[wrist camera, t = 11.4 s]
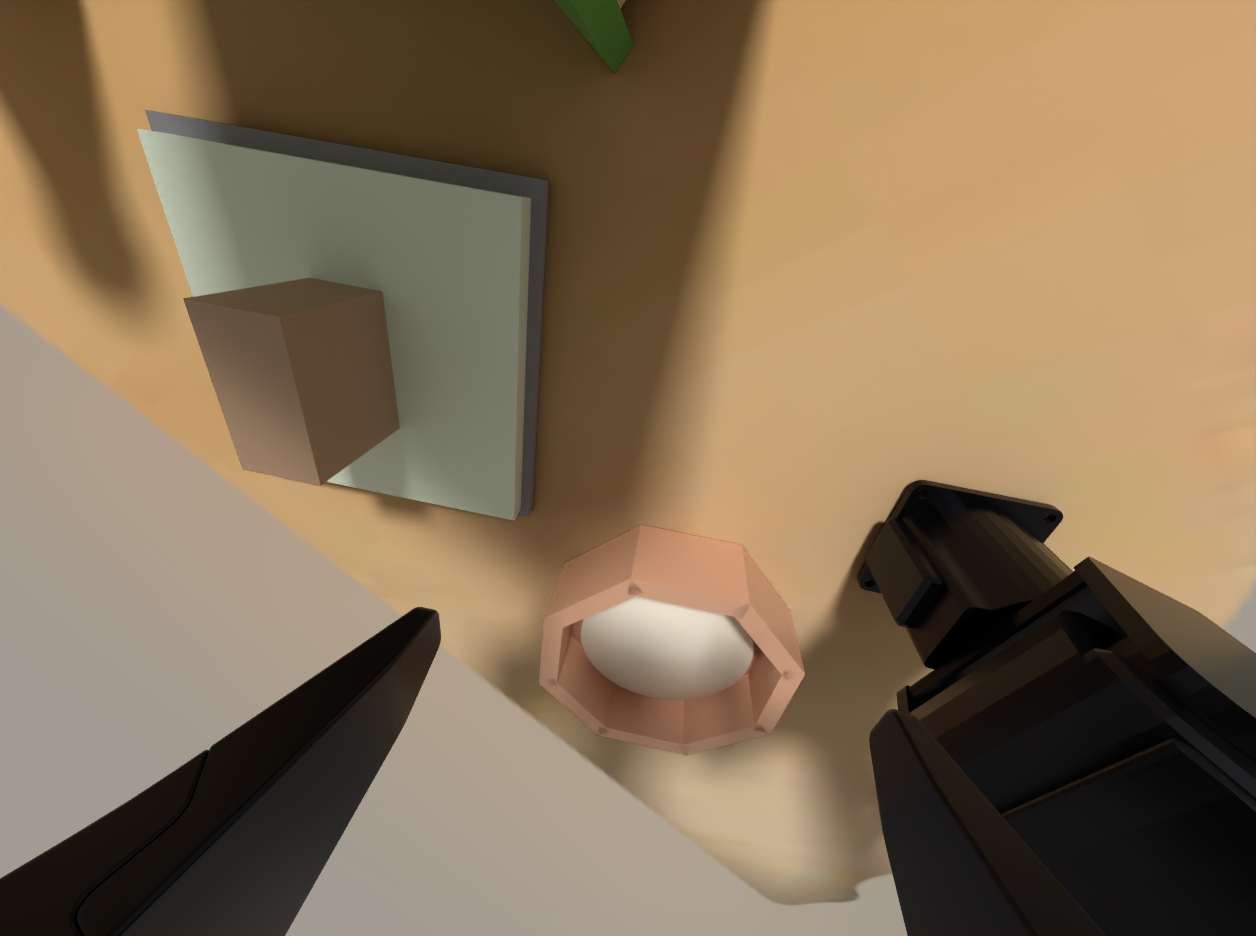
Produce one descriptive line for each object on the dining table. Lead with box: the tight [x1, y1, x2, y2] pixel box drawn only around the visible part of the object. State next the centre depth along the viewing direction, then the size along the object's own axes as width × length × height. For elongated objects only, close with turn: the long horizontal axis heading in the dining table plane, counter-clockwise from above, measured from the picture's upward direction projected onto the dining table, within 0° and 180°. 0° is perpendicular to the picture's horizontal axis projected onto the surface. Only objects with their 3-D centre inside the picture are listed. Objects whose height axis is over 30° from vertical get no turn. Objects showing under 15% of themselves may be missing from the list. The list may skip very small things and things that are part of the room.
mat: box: [145, 110, 549, 517], centre depth 20 cm, size 15×15×1 cm
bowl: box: [539, 525, 805, 755], centre depth 25 cm, size 13×13×4 cm
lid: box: [137, 129, 531, 521], centre depth 17 cm, size 14×14×6 cm
